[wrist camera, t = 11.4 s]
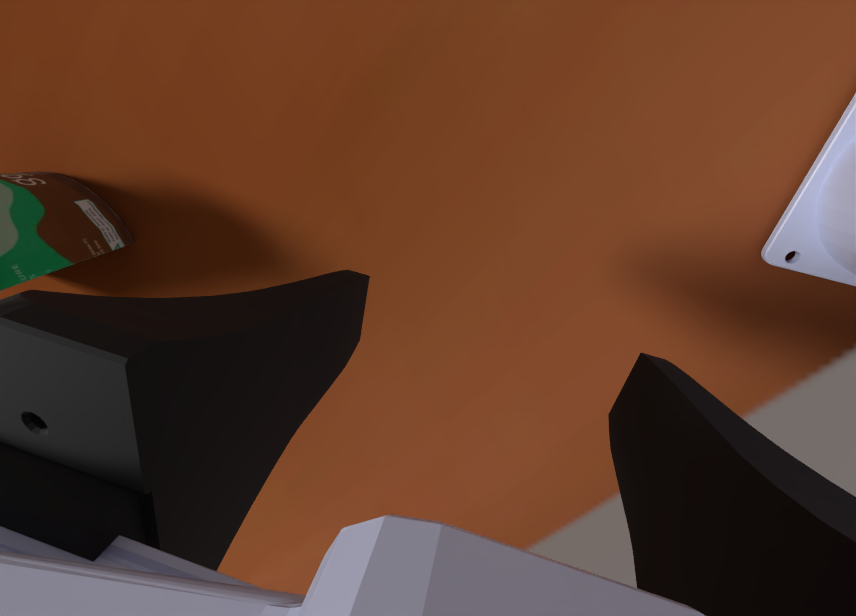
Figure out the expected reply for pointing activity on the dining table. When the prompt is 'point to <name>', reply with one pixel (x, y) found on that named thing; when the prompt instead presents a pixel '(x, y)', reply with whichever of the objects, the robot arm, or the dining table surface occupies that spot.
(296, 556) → the dining table surface
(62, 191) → the food container
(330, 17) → the dining table surface
